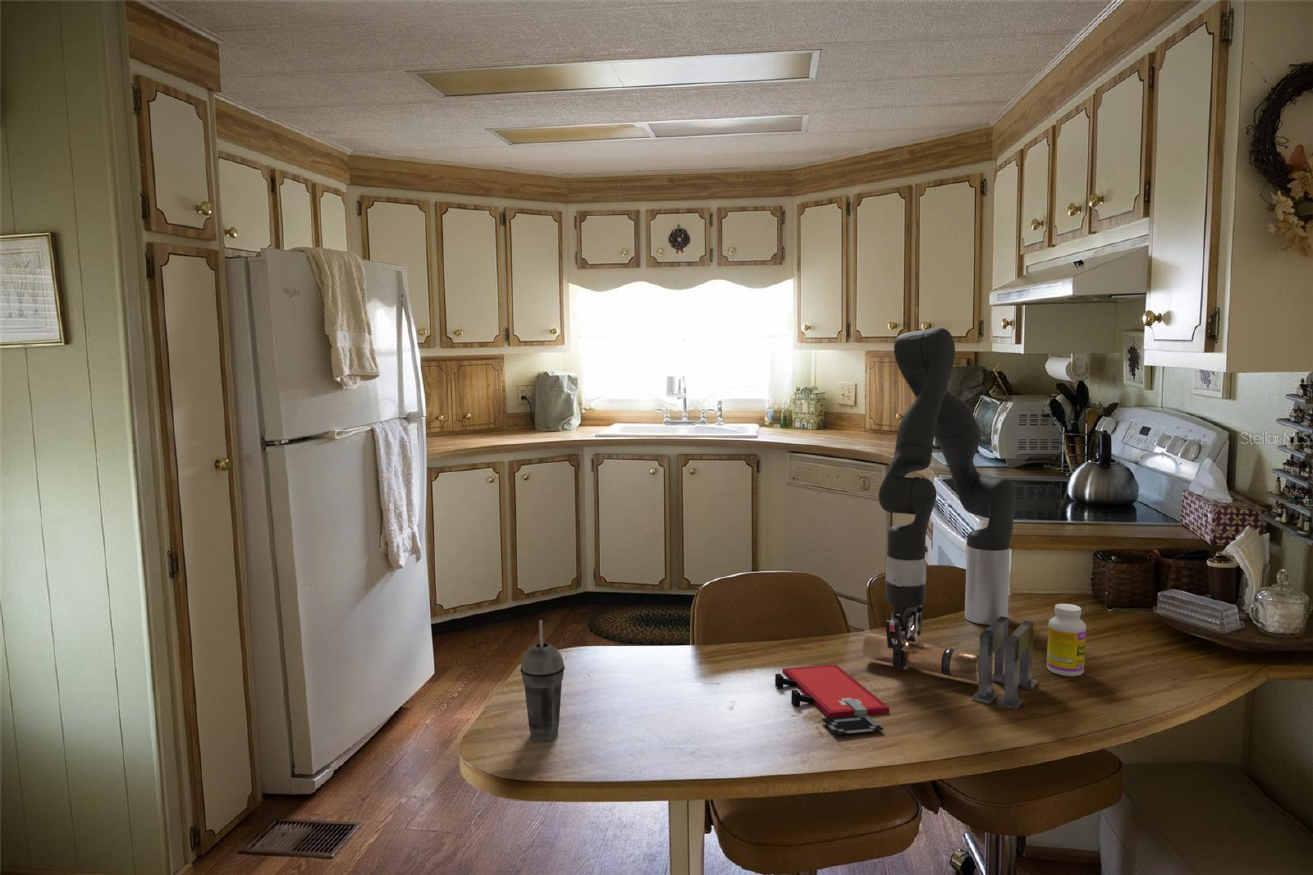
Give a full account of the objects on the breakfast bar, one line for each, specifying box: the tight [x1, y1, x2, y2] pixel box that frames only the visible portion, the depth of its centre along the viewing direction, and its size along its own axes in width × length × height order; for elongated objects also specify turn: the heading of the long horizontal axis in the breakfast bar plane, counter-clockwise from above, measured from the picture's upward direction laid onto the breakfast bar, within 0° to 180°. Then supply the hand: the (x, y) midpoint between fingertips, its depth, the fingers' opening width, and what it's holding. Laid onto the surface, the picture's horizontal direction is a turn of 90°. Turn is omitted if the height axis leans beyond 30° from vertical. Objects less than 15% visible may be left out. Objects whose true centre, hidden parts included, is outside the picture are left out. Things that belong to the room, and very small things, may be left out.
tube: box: [862, 632, 979, 683], centre depth 175 cm, size 22×5×5 cm, turn 54°
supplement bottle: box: [1046, 603, 1087, 677], centre depth 175 cm, size 7×7×13 cm
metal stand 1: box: [971, 616, 1009, 705], centre depth 167 cm, size 15×3×12 cm, turn 144°
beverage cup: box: [520, 619, 566, 743], centre depth 149 cm, size 7×7×20 cm
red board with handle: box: [774, 664, 890, 735], centre depth 163 cm, size 30×3×15 cm
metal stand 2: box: [996, 620, 1038, 711], centre depth 164 cm, size 15×3×12 cm, turn 144°
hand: (904, 663), depth 177 cm, fingers closed on tube, 5 cm apart
